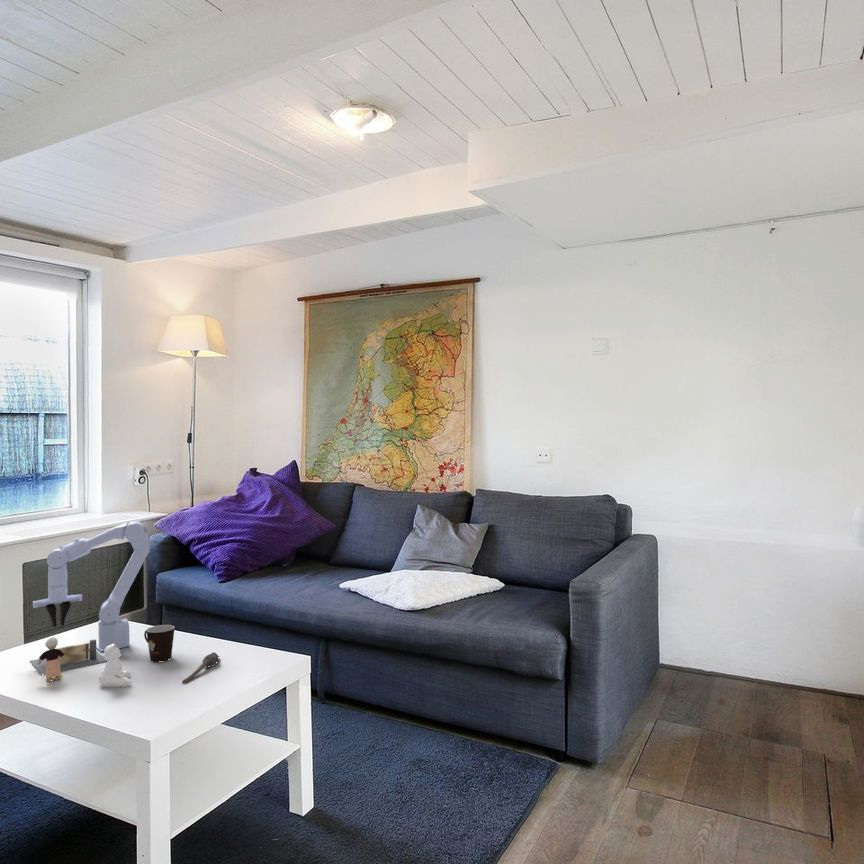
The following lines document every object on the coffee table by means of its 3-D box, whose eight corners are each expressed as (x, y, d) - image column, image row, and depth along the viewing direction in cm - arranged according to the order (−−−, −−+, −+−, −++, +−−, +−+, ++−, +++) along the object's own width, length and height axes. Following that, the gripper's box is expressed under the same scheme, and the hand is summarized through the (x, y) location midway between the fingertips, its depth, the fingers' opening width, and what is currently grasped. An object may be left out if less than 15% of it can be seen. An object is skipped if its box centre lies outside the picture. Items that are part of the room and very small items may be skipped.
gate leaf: (88, 657, 223) (88, 642, 223) (89, 658, 222) (89, 643, 222) (47, 666, 215) (46, 650, 215) (48, 667, 214) (47, 651, 214)
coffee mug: (177, 660, 222) (177, 629, 222) (149, 665, 217) (149, 634, 217) (169, 650, 231) (168, 621, 231) (142, 655, 227) (141, 625, 226)
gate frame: (93, 649, 234) (92, 628, 234) (107, 661, 221) (107, 639, 221) (29, 661, 222) (29, 639, 222) (41, 675, 209) (40, 652, 209)
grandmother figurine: (63, 674, 209) (63, 633, 209) (67, 677, 207) (67, 636, 206) (35, 681, 204) (35, 639, 204) (39, 684, 201) (39, 641, 201)
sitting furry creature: (131, 687, 199) (131, 646, 199) (99, 692, 195) (98, 650, 195) (130, 676, 207) (130, 637, 207) (98, 681, 203) (98, 641, 203)
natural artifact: (222, 663, 223) (229, 653, 223) (184, 685, 201) (191, 674, 200) (213, 655, 224) (220, 645, 223) (174, 677, 201) (182, 666, 201)
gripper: (78, 580, 238) (78, 618, 238) (30, 586, 228) (31, 627, 228) (83, 583, 232) (84, 623, 232) (35, 590, 223) (35, 631, 223)
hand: (58, 625), depth 230 cm, fingers closed
